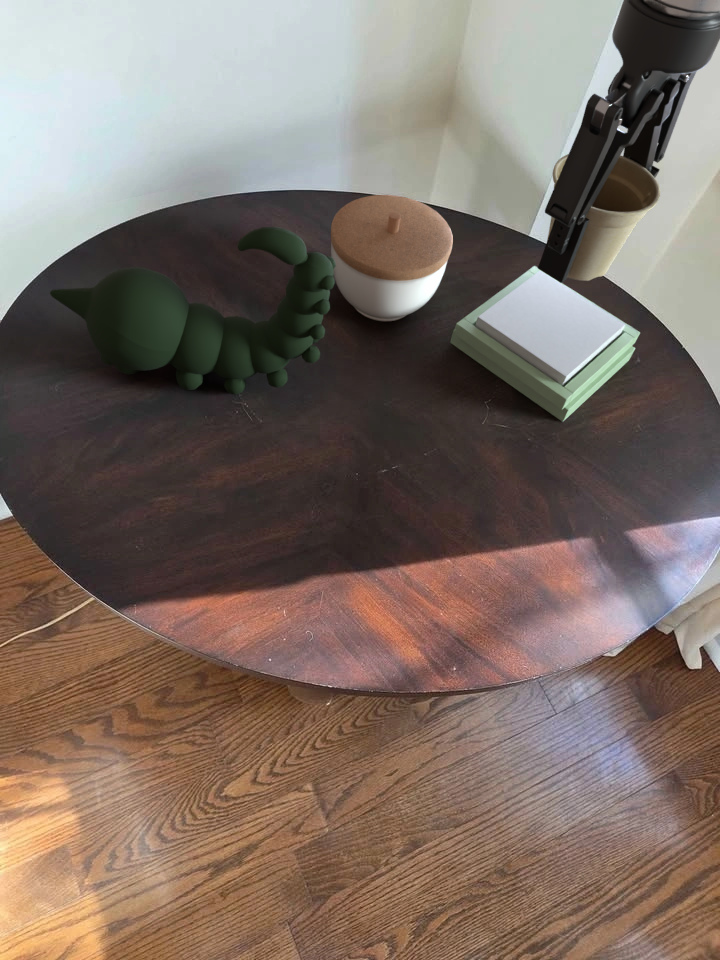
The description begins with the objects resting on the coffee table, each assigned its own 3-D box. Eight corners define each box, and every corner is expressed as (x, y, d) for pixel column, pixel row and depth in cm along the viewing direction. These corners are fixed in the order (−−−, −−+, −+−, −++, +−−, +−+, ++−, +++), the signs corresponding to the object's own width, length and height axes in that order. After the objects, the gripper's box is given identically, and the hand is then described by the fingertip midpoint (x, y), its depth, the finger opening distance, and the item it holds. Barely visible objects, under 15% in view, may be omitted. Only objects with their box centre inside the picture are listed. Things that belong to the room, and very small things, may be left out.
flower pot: (517, 228, 77) (542, 147, 70) (607, 229, 78) (640, 150, 71) (540, 293, 71) (569, 213, 64) (637, 293, 73) (675, 214, 66)
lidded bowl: (312, 323, 84) (317, 238, 75) (341, 252, 91) (349, 167, 82) (426, 350, 83) (445, 268, 74) (446, 276, 90) (465, 193, 81)
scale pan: (620, 334, 83) (625, 324, 82) (561, 387, 78) (566, 376, 76) (536, 281, 87) (540, 270, 85) (474, 327, 81) (477, 316, 80)
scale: (631, 357, 85) (644, 334, 83) (559, 425, 79) (570, 402, 76) (523, 287, 90) (531, 263, 88) (446, 345, 84) (452, 321, 81)
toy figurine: (314, 357, 83) (72, 323, 80) (343, 206, 68) (46, 156, 64) (309, 425, 78) (49, 391, 74) (340, 277, 63) (15, 227, 59)
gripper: (705, -58, 62) (605, 192, 80) (554, 15, 52) (480, 281, 70) (791, -22, 59) (667, 227, 78) (650, 62, 49) (547, 325, 68)
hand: (578, 253), depth 74 cm, fingers closed on flower pot, 8 cm apart
